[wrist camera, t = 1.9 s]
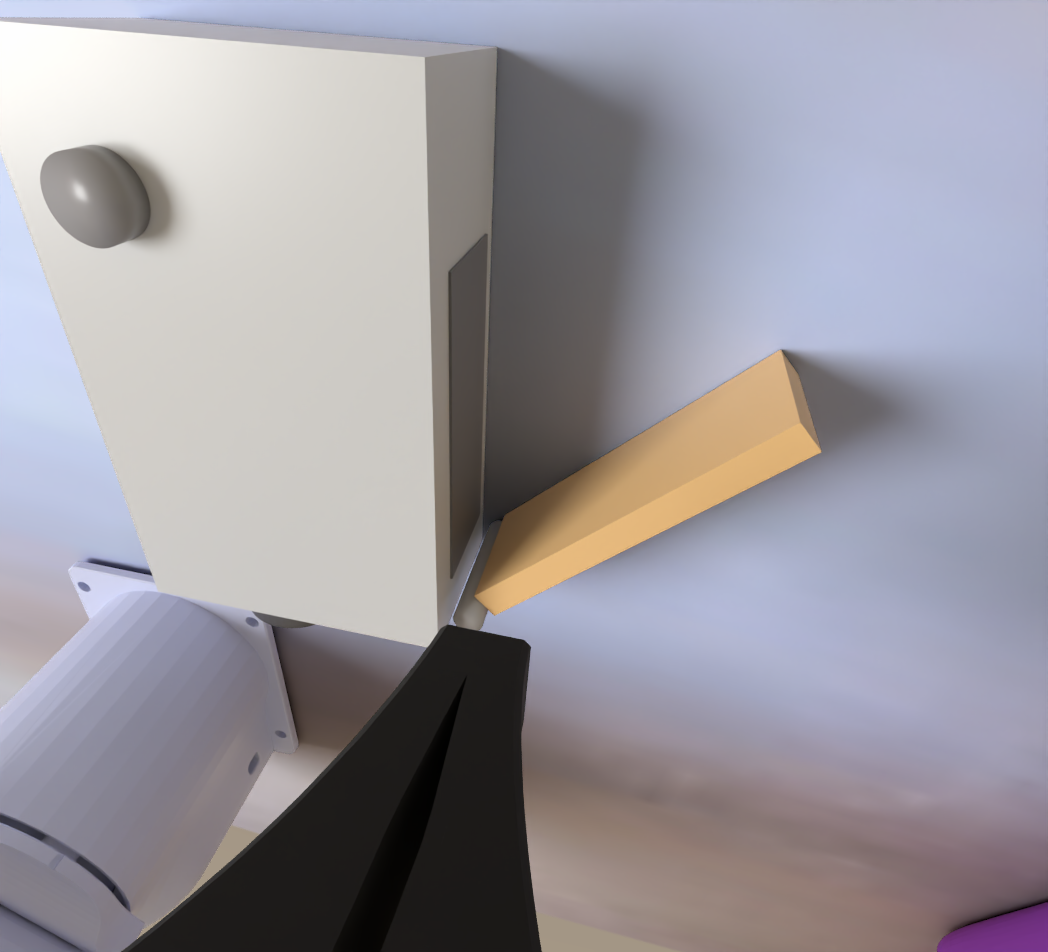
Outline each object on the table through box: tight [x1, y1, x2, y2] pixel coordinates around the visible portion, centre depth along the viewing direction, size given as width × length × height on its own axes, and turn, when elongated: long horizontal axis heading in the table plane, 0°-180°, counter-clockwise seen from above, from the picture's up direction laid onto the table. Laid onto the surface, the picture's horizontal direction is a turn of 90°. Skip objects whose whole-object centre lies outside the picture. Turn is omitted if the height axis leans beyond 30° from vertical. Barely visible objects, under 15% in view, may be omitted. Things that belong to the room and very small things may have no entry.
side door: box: [453, 350, 822, 631], centre depth 17 cm, size 10×1×4 cm, turn 131°
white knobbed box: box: [0, 17, 497, 647], centre depth 16 cm, size 14×8×5 cm, turn 176°
